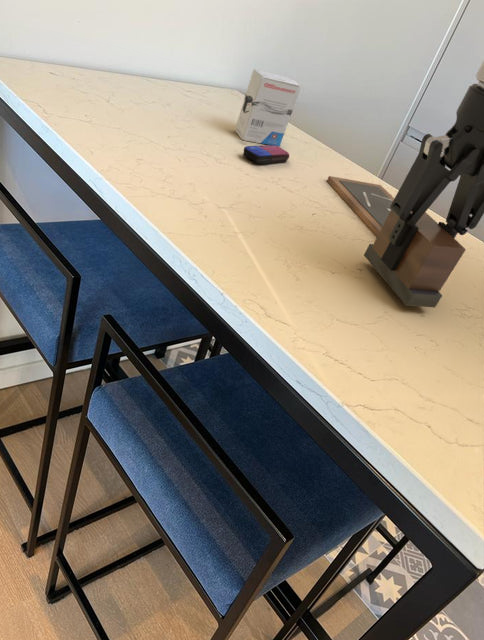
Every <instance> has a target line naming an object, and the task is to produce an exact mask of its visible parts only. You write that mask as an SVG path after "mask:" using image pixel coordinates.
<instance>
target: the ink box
mask: <svg viewBox="0 0 484 640" xmlns="http://www.w3.org/2000/svg"><path fill="white" fill-rule="evenodd" d="M301 88H302V86H300V84H299V83H297V82H296V81H295V80H294V79H292V78H290V77H287V76H283V75H279V74H275V73H273V72H272V73H271V72H267V71H265V70H264V71H263V70H260V69H256V68H254V69H252V73H251V77H250V78H249V83H248V85H247V89H246V92H245V96H244V98H243V102H242V105H241V108H240V112H239V115H238V119H237V122H236V125H235V126H234V127H235V128H234V131H235V133H236V134H237V135H238V137H239V138H240V139H241V140H242V141H244V142H251V143H257V144H260V145H261V144H262V145H276V146H278V147H280V146H281V145H282V141H283V138H284V136H285V133H286V131H287V127H288V124H289V122H290V120H291V116H292V114H293V110H294V109H295V105H296V104H297V100H298V97H299V94H300V91H301Z"/></svg>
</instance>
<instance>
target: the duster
mask: <svg viewBox="0 0 484 640" xmlns="http://www.w3.org/2000/svg"><path fill="white" fill-rule="evenodd" d="M411 213H412V211H411ZM398 219H399V217H398V216H397V215H396V214H395V213H394V212H393V211H392V210H391V211H390V213H389V215H388V217H387V218H386V220H385V222H384V224H383V226H382V228H381V230H380V232H379V234H378V236H376V238H375V240H374V242H373V243H369V244H368V245H367V248H366V250H365V252H364V254H363V256H364V258H365V259H366V260H367V262H369V263H370V265H371V267H373V268H374V269H375V271H376V272H377V273H378V274H379V275H380V277H381V278H382V279H383V280H384V281H385V283H387V285H388V286H389V287H390V288H391V290H392V291H393V292H394V293H395V294H396V296H397V297H398V298H399V299H400V300H401V301H402V303H403V304H404V305H405V306H407V307H422V308H423V307H425V308H436V307H437V305H438V304H439V302H440V301H441V299H442V298H443V294H442V293H441V292H440V291H441V290H442V288H443V287H444V285H445V284H446V282H447V280H448V279H449V277H450V276H451V274H452V273H453V271H454V269H455V267H456V266H457V264H458V263H459V261H460V260H461V258H462V256H463V255H464V253H465V252H466V249H467V248H465V247H464V246H463V245H462V244H461V243H459V242H458V240H457V239H455V238H453V237H452V236H451V235H450V234H449V233H448V232H447V231H446V230H444V229H443V228H442V227H441V226H440V225H439V224H438V223H439V222H437V221H436V220H435V219H434V218H433V217H432V216H430V215H429V214H428V213H427V211H426V212H425V213H424V214H423V215H422V217H421V218H420V219H419V220H418V222H417V223H416V224H415V225H416V226H417V227H418V228H419V229H418V231H417V232H416V234H415V236H414V238H413V240H412V241H411V243H410V245H409V247H408V249H407V250H406V252H405V254H404V256H403V257H402V259H401V261H400V263H399V265H398V266H397V268H396V270H395V271H391V270H390V269H389V268H388V267H387V266H386V265H385V264H384V262H383V261H382V260H381V258H382V256H383V254H384V252H385V251H386V249H387V247H388V245H389V243H390V240H389V237H390V235H391V233H392V231H393V229H394V227H395V225H396V223H397V221H398Z"/></svg>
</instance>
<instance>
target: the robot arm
mask: <svg viewBox="0 0 484 640" xmlns="http://www.w3.org/2000/svg"><path fill="white" fill-rule="evenodd" d="M475 77H476V81H478V82H477V83H473V84H472V85H469V86H468V88H467V90H466V92H465V94H464V96H463V98H462V100H461V102H460V104H459V106H458V107H457V110H456V113H455V114H456V119H455V122H454V124H453V125H452V127H451V128H450V129H449V130H447V131H446V133H445V135H440V136H433V135H432V134H431V133H426V134H424V136H423V137H422V139H421V143H420V147H419V151H418V154H417V156H416V158H415V160H414V162H413V164H412V166H411V167H410V169H409V171H408V173H407V174H406V176H405V178H404V180H403V182H402V184H401V186H400V187H399V189H398V190H397V192H396V195H395V197H393V198H394V200H393V202H392V204H391V206H390V209H391V210H392V211H393V212H394V213H395V214H396V215H397V216H398V217H399V219H398V221H397V223H396V225H395V227H394V229H393V231H392V233H391V235H390V237H389V240H390V243H389V245H388V247H387V249H386V251H385V252H384V254H383V256H382V258H381V260H382V261H383V262H384V264H385V265H386V266H387V267H388V268H389V269H390V270H391V271H395V270H396V268H397V266H398V265H399V263H400V261H401V259H402V257H403V256H404V254H405V252H406V250H407V249H408V247H409V245H410V243H411V241H412V240H413V238H414V236H415V234H416V232H417V231H418V229H419V228H418V227H417V226H416V225H415V224H416V223H417V222H418V220H419V219H420V218H421V217H422V215H423V214H424V213H425V212H426V213H427V211H428V210H429V209H430V207H431V206H432V205H433V204H434V203H435V201H436V200H437V199H438V197H439V196H440V195H441V194H442V192H444V190H445V189H446V188H447V187H448V185H449V184H450V183H451V182H455V181H456V180H457V179H458V178H459V180H458V183H457V185H456V189H455V192H454V195H453V197H452V201H451V204H450V207H449V209H448V213H447V215H446V219H445V222H443V221H439V222H437V223H438V224H439V225H440V226H441V227H442V228H443V229H444V230H446V231H447V232H448V233H449V234H450V235H451V236H452V237H453V238H454V239H455V238H456V237H457V235H460V236H464V235H466V234H467V233H468V229H470V230H474V229H475V228H476V227H477V226H478V224H479V223H480V221H481V219H482V218H483V216H484V60H483V61H482V63H481V64H480V66H479V69H478V71H477V72H476V74H475ZM411 211H412V213H411Z"/></svg>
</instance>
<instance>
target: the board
mask: <svg viewBox="0 0 484 640" xmlns="http://www.w3.org/2000/svg"><path fill="white" fill-rule="evenodd" d="M326 181H327V183H328V184H329V185H330V186H331V187H332V189H334V191H335V192H336V193H337V194H338V195H339V196H340V197H341V199H343V200H344V202H345V203H346V204H347V206H349V207H350V209H352V211H353V212H354V213H355V214H356V215H357V216H358V217H359V219H360V220H361V221H362V222H363V223H364V224H365V225H366V227H368V229H369V230H370V231H371V232H372V233H373V234H374V235H375V236H376V237H377V236H378V234H379V232H380V230H381V228H382V226H383V224H384V222H385V220H386V218H387V217H388V215H389V213H390V211H391V209H390V206H391V204H392V202H393V200H394V198H395V197H394V196H392V195H391V193H389V192H388V190H387V189H386V188H384V187H383V186H382V185H381V184H376V183H370V182H365V181H361V180H360V181H359V180H354V179H350V178H349V179H348V178H342V177H337V176H332V175H328V177H327V179H326Z"/></svg>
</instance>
